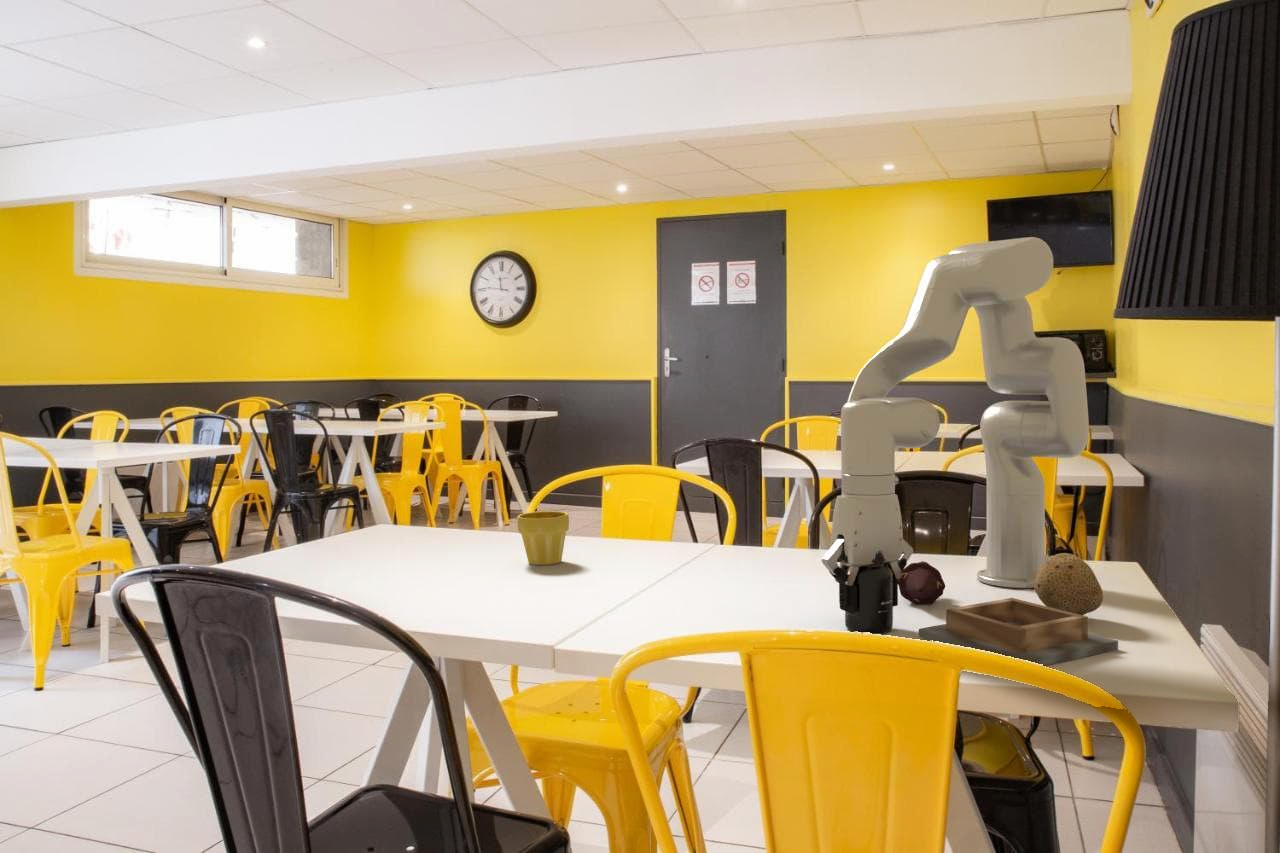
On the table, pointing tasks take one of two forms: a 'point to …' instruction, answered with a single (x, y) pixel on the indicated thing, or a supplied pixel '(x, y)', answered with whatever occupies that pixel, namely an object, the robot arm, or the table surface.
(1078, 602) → the natural sponge
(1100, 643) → the collar board
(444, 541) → the table surface
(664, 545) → the table surface
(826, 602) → the table surface
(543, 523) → the plant pot
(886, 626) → the supplement bottle
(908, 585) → the icecream
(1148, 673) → the table surface
